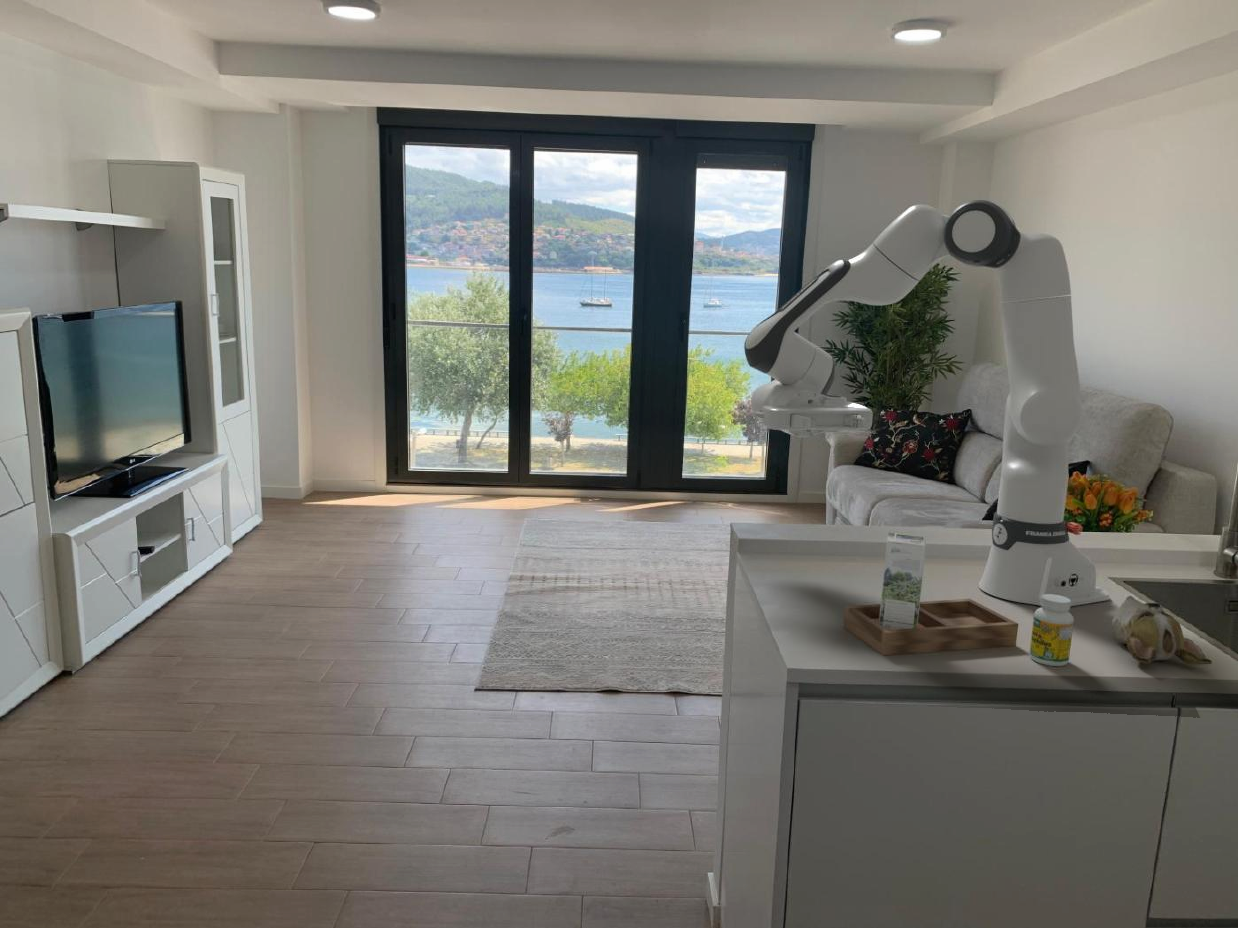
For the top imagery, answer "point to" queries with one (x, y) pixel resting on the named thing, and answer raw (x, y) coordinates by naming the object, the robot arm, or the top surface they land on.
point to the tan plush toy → (1153, 634)
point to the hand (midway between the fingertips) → (837, 424)
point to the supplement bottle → (1052, 631)
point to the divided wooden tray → (934, 628)
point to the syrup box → (902, 581)
